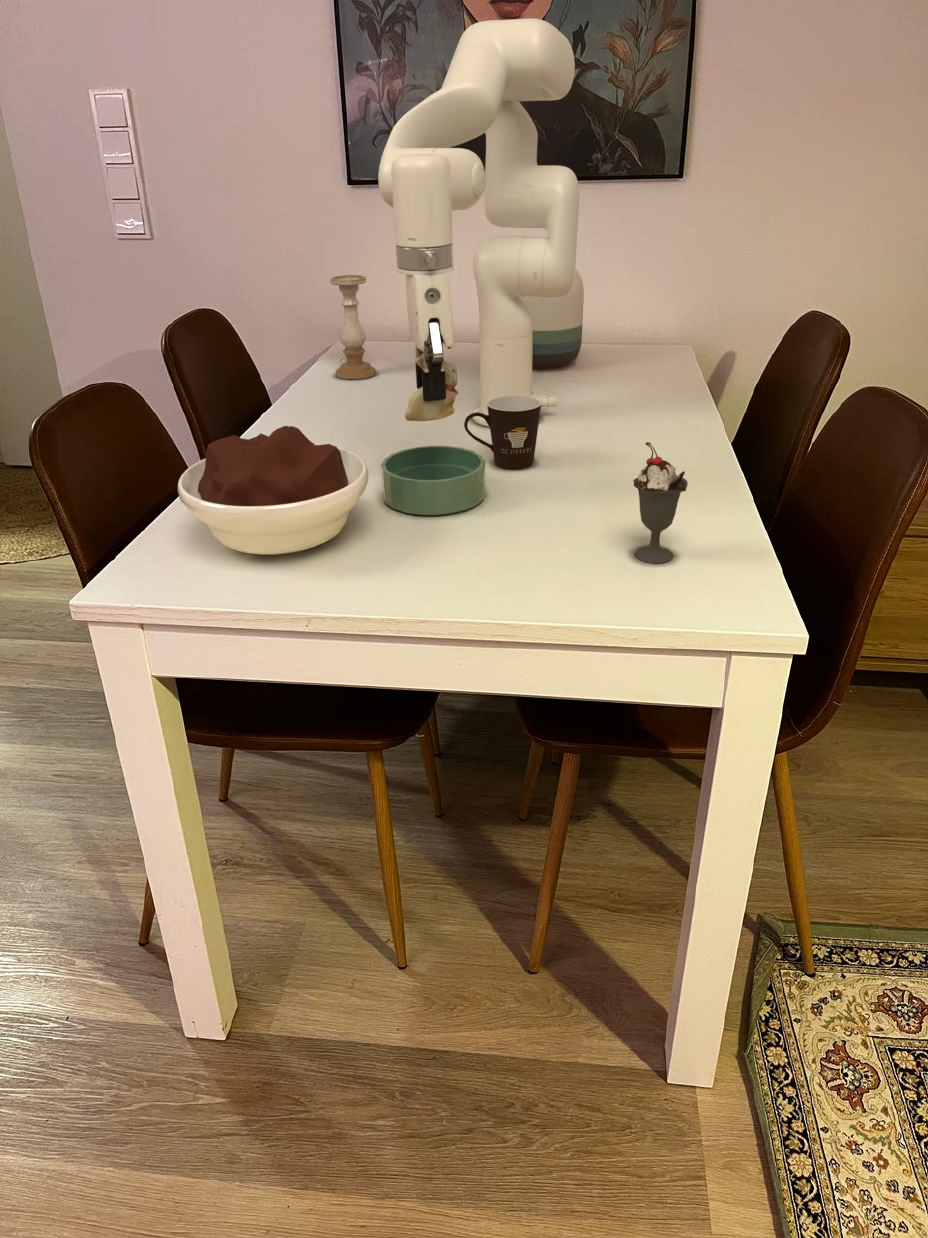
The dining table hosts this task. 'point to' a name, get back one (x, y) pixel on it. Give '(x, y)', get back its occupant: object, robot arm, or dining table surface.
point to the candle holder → (352, 330)
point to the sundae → (658, 504)
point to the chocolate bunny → (433, 409)
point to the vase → (557, 326)
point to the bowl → (433, 480)
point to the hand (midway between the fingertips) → (431, 393)
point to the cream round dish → (273, 491)
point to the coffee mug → (511, 430)
